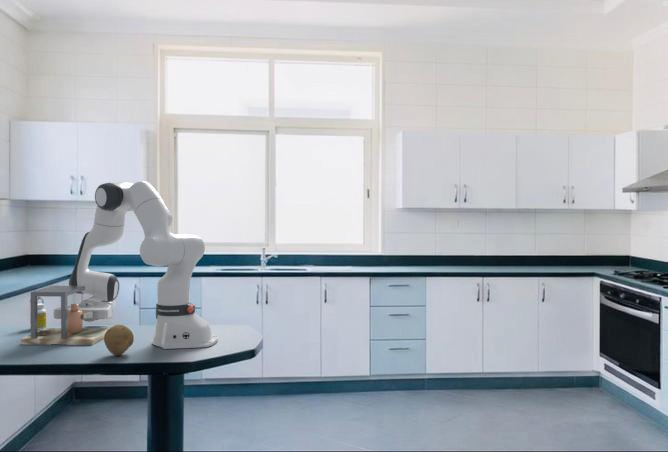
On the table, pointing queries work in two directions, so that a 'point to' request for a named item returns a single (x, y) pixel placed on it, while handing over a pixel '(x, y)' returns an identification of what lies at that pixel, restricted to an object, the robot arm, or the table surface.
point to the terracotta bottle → (74, 319)
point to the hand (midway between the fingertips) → (73, 316)
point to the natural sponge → (118, 339)
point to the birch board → (80, 338)
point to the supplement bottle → (41, 316)
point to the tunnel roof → (63, 293)
